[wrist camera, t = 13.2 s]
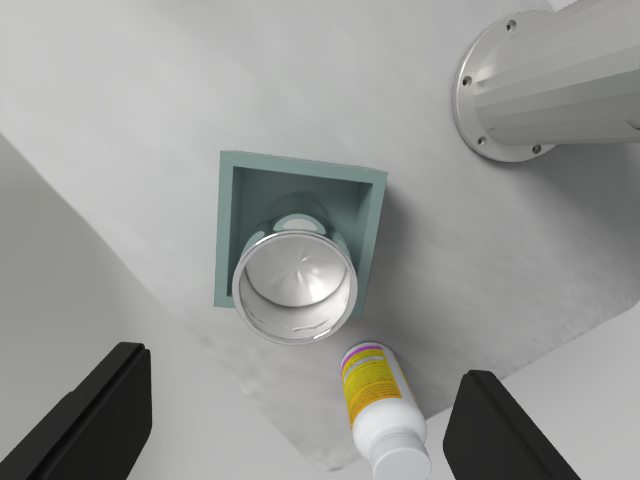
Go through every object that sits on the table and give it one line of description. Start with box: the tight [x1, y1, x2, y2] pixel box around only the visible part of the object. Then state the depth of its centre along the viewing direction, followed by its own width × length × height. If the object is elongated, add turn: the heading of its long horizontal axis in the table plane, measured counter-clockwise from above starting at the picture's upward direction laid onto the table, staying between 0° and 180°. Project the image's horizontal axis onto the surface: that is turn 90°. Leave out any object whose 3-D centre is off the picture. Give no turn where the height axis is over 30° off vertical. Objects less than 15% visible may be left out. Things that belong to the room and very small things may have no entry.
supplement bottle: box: [340, 342, 431, 480], centre depth 31 cm, size 7×7×13 cm
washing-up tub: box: [214, 151, 388, 319], centre depth 29 cm, size 13×13×6 cm
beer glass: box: [232, 195, 358, 346], centre depth 24 cm, size 7×7×15 cm
